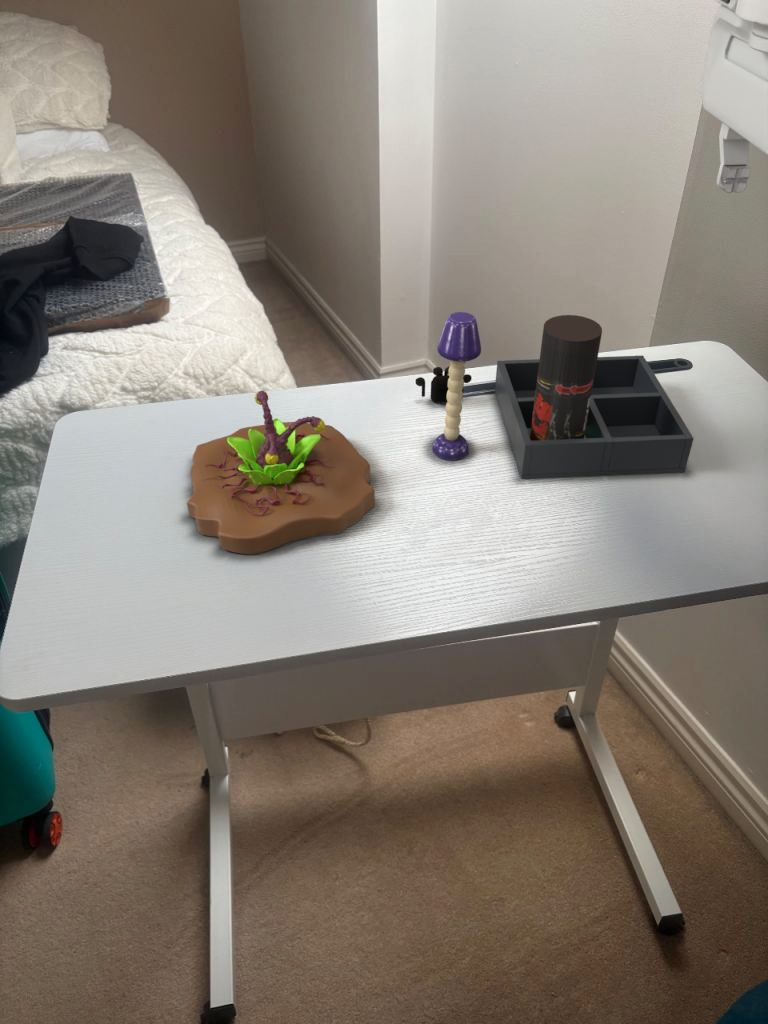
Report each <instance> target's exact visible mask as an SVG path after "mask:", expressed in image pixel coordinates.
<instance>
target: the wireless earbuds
mask: <svg viewBox="0 0 768 1024" xmlns="http://www.w3.org/2000/svg"><path fill="white" fill-rule="evenodd" d="M449 367H450V365H449V366H447V367H446V368H444V370H443V368H442V367H440V366H436V367H434V368H433V369H432V374H433V375H434V376H433V378H432V379H431V381H430V400H431V402H433V403H434V404H442V403H443V404H444V403H445V404H447V402H448V401H447V392H448V390H449V389H448V379H449V377H450V376H449ZM472 379H473V378H472V375H471V374H470V373H469V374H468V373H467V374H466V373H465V375H464V377H463V380H464V384H469V383H471V381H472ZM415 385H416V386H418V387H421V397H422V398H425V397H426V379H425V378H424V377H422V376H420V377H419V376H418V377H417V378H416V379H415ZM464 388H465V387H463V389H462V392H463V393H464Z"/></svg>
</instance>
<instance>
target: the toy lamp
mask: <svg viewBox="0 0 768 1024" xmlns="http://www.w3.org/2000/svg"><path fill="white" fill-rule="evenodd" d="M481 344H482V343H481V339H480V333H479V327H478V322H477V319H476V316H475V315H474V314H472V313H470V312H465V311H456V312H455V311H454V312H452V313H451V314H449V315H448V316H447V318H446V321H445V323H444V325H443V330H442V331H441V334H440V337H439V341H438V343H437V353H438V354H439V356H440V357H442V358H444V359H446V360H448V361H449V366H450V367H449V366H448V367H449V376H450V377H449V379H448V389H449V390H448V392H447V401H448V402H446V403H445V412H446V414H445V417H444V424H445V426H444V429H443V433H441V434H440V435H437V437H436V438H435V440H434V441H433V443H432V447H431V450H432V453H433V454H434V456H436V457H438V458H440V459H443V460H450V461H456V460H461V459H463V458H465V457H466V456H467V455H468V454H469V452H470V448H469V443H468V440H467V439H466V438H465V437H464V436H463V435H462V434H460V432H461V431H460V426H461V421H462V418H461V414H462V412H463V411H462V410H463V405H462V401H463V398H464V391H463V392H462V389H463V390H464V388H465V387H464V386H465V383H464V380H463V377H464V375H465V374H466V368H465V365H466V363H467V362H470V361H473V360H475V359H477V358H478V357H480V355H481V353H482V345H481ZM463 387H464V388H463Z"/></svg>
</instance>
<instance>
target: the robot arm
mask: <svg viewBox="0 0 768 1024" xmlns="http://www.w3.org/2000/svg"><path fill="white" fill-rule="evenodd" d="M714 1H715V2H716V3H718V4H720V5H719V6H718V8H717V9H716V11H715V14H714V16H713V18H712V23H711V27H710V30H709V36H708V40H707V41H708V42H707V48H706V53H705V58H704V65H703V70H702V71H703V72H702V79H701V86H700V89H701V102H702V103H701V104H702V108H703V110H705V111H706V112H708V113H709V114H710V115H711V116H713V117H714V118H716V119H717V120H718V121H720V122H721V126H720V129H719V135H718V139H719V140H718V141H719V142H718V143H719V163H720V165H719V169H718V173H717V178H716V186H718V187H719V188H720V189H721V190H723V192H724V193H727V194H732V193H742V192H744V191H745V190H746V188H747V186H748V179H749V178H750V176H751V171H752V168H751V167H750V166H749V165H748V162H749V153H750V145H753V146H755V147H756V148H757V149H758V150H759V151H761V152H763V154H765V155H766V156H768V0H714Z"/></svg>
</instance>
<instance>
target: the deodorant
mask: <svg viewBox="0 0 768 1024" xmlns="http://www.w3.org/2000/svg"><path fill="white" fill-rule="evenodd" d="M602 334H603V327H602V325H600V323H598V322H597V321H596V320H593V319H592V318H588V317H585V316H582V315H576V314H562V315H557V316H552V317H550V318H548V319H547V320H545V322H544V323H543V329H542V336H541V344H540V352H539V353H540V354H539V359H540V361H539V369H538V377H537V385H536V393H535V401H534V409H533V418H532V426H531V434H530V439H531V441H538V440H563V439H584V434H585V428H586V422H587V416H588V410H589V405H590V399H591V393H592V387H593V381H594V376H595V370H596V364H597V358H598V357H599V351H600V347H601V340H602Z"/></svg>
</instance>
